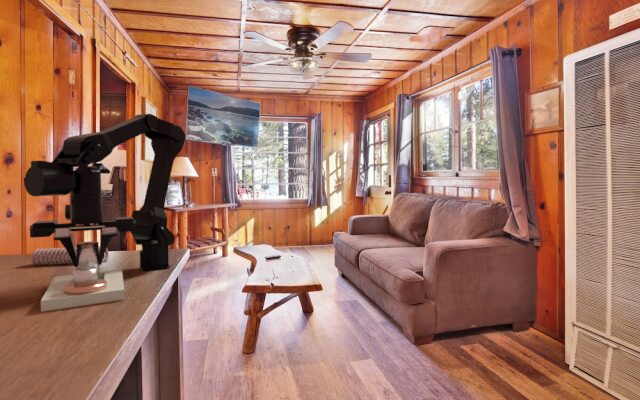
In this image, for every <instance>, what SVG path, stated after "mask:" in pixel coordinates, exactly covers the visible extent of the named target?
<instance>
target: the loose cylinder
mask: <svg viewBox="0 0 640 400" xmlns="http://www.w3.org/2000/svg"><path fill="white" fill-rule="evenodd" d="M76 247H77V267H76V269H77V268H82V267H97V275H98V274H99V272H100V265H99V241H84V242H81V241H80V242H77V243H76Z"/></svg>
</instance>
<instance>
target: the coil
mask: <svg viewBox="0 0 640 400" xmlns="http://www.w3.org/2000/svg"><path fill="white" fill-rule="evenodd" d="M75 248H76V254H77V246H75ZM99 252H100V246H99ZM31 254H32V255H31V264H32V265H33V266H41V265H42V266H49V265H62V264H63V265H66V263H67V265H69V264H72V263H73V262H72V260H71V258H70V256H69V254H68V252H67V250H66V249H65V247H51V248H48V247H46V248H36V249H35V250H34V251H33V252H32V253H31ZM109 256H110V255H109V250H108V247H107V248H106V251H105V254H104V257H103V260H102V263H103V262H104V263H107V262H108V261H109Z"/></svg>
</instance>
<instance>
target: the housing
mask: <svg viewBox="0 0 640 400" xmlns="http://www.w3.org/2000/svg"><path fill="white" fill-rule="evenodd" d="M97 276H98V279H102V280H106V283H107V287H106V288H105V289H103V290H101V291H98V292H94V293H89V294H82V295H68V294H65V293H64V286H65V285H67V284H69V283H73V274H68V275H67V274H66V275H57V276H54V277H53V279H52V280H51V282H50V284H49V286H48V288H47V290H46V291H45V293H44V295H43V296H42V298H41V300H40V312H48V311H55V310H62V309H69V308H76V307H81V306H90V305H96V304H104V303H110V302H116V301H123V300H125V286H124V275H123V269H121V268H120V269H113V270H104V271H99V274H98V275H97Z"/></svg>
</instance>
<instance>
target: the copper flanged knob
mask: <svg viewBox="0 0 640 400" xmlns="http://www.w3.org/2000/svg"><path fill="white" fill-rule="evenodd" d="M72 275H73V283H69V284H67V285H65V286H64V293H65V294H68V295H82V294H89V293H94V292H98V291H101V290H103V289H105V288H106V287H107V283H106V280H102V279H98V276H97V267H82V268H77V267H76V268H74V269H73V270H72Z"/></svg>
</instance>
